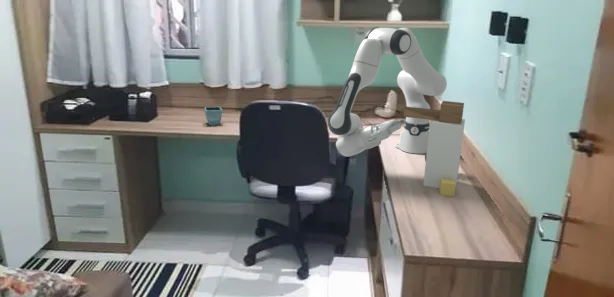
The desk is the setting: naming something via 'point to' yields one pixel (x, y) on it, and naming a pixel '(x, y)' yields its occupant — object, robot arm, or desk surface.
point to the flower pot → (213, 115)
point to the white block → (443, 152)
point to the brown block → (438, 112)
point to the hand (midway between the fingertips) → (402, 123)
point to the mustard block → (447, 187)
